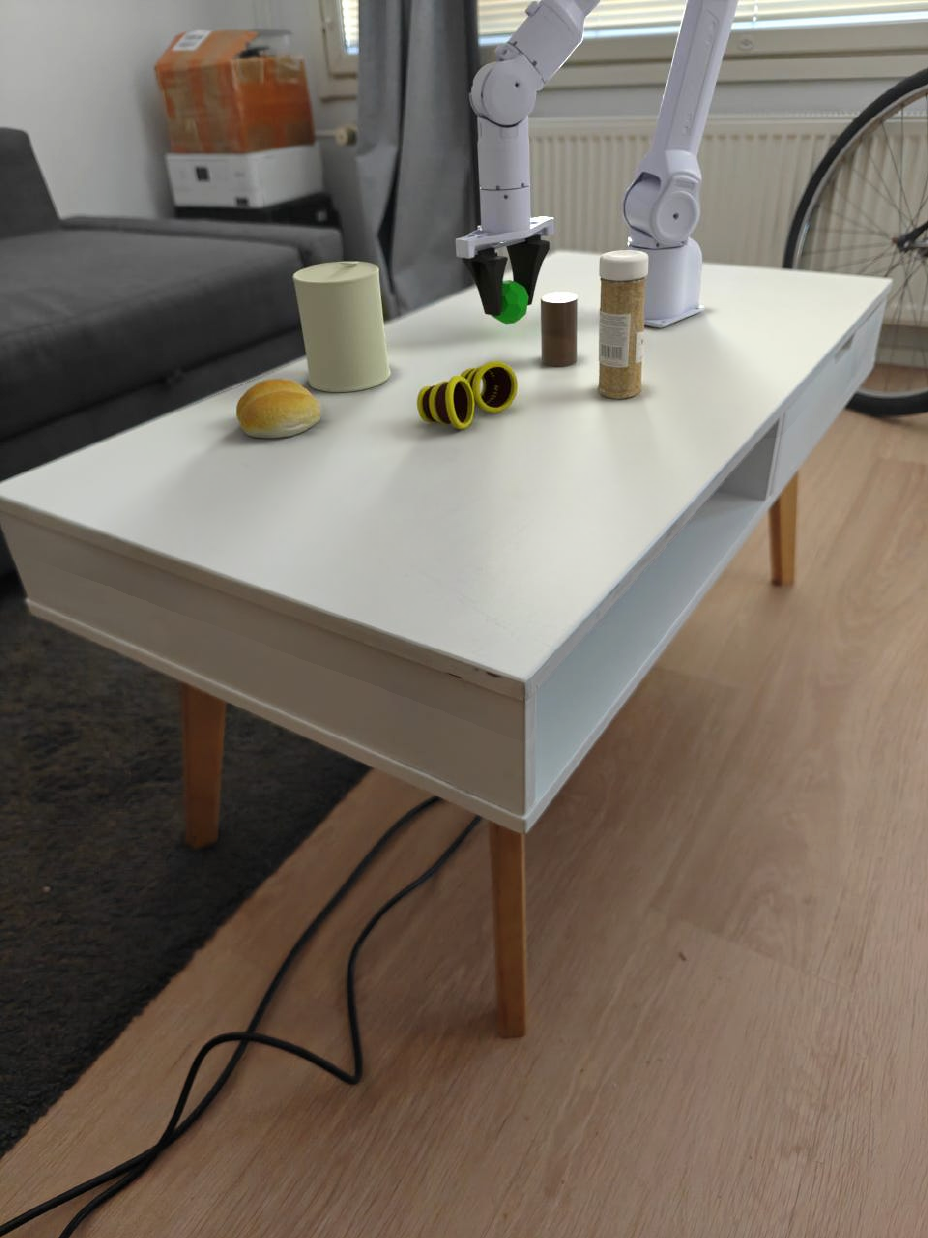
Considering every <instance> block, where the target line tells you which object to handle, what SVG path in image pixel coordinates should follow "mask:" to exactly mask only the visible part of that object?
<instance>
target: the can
mask: <svg viewBox="0 0 928 1238" xmlns="http://www.w3.org/2000/svg"><path fill="white" fill-rule="evenodd" d="M292 281H293V285H294V289H295V290H294V291H295V296H296V301H297V302H296V303H297V306H298V313H299V318H300V319H299V320H300V325H301V332H302V339H303V343H304V344H303V345H304V349H305V350H304V351H305V356H306V364H307V369H308V383H309V386H311V388H314V389H316V390H319V391H323V392H328V393H349V392H350V393H351V392H357V391H364V390H368V389H371V388H374V387H376V386H379V385H381V384H383V383H385V382H386V381H388V380H389V378H390V377H391V375H392V374H391V373H392V372H391V369H390V366H389V359H388V353H387V350H388V349H387V344H386V343H387V341H386V334H385V324H384V316H383V315H384V314H383V306H382V299H381V298H382V297H381V285H380V275H379V267H378V266H377V265H376V264H374V263H370V262H366V261H336V262H335V261H333V262H325V263H320V264H315V265H310V266H307V267H303V268H302V269H299V270H296V272H294V273H293V274H292Z"/></svg>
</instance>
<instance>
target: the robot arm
mask: <svg viewBox="0 0 928 1238" xmlns="http://www.w3.org/2000/svg"><path fill="white" fill-rule="evenodd" d="M601 2H602V0H540V1H537V0H533V1H531V2H530V3H529V4H528V6H527V7H526V8H525V9H524V13H525V14H526V15H527V17H526V18H525V19H524V21H523V22H522V23H521V24H520V25H519V27H518V28H517V29H516V30H515V32H514V33H513V34H512V35H511V37H510V38H509V39H508V40H507V42H506V43H499V44H497V46H496V48H495V49H494V50H493V53H494V54H495V56H496V58H497V61H492V62H489V63H486V64H485V65H483V66H482V67H481V68H480V69H478V71H477V73H476V74H475V76H474V77H473V80H472V86H471V89H470V92H469V93H468V99H469V104H470V107H471V108H472V111H473V112H474V113H475V115H476V116H477V118H476V120H477V135H478V136H477V162H478V163H477V164H478V181H479V182H478V183H479V203H480V220H481V221H480V225H477V228H476V230H474V231H472V232H470V233H468V234H466V235H463V236H461V237H458V238H455V253H456V257H457V258H461V259H462V263H463V264H464V265H465V267H466V268H467V270H468V272H469V273H470V275H471V277H472V279H473V281H474V284H475V286H476V289H477V292H478V294H479V299H480V301H481V304H482V308H483V312H484V314H485V315H488V316H491V315H492V316H499V315H501V309H502V284H503V281H504V276H505V271H506V268H507V263H508V260H509V262H510V266H511V271H512V279H513V280H512V281H514V282H516V283H518V284H520V285H521V286H523V287H524V288H525V290H526V292H527V295H528V297H529V298H528V304H527V306H531V305H533V304H532V303H533V300H534V296H535V291H536V286H537V282H538V278H539V274H540V272H541V270H542V269H541V268H542V267H543V264H544V262H545V259H546V257H547V256H548V253H549V252H550V250H551V241H550V240H547V239H542V237H550V236H553V235H554V233H555V231H554V230H555V225H554V220H555V219H554V217H551V216H543V215H542V216H538V217H532V215H531V213H532V212H531V170H530V168H531V167H530V166H531V165H530V163H531V162H530V139H529V115H530V114H532V112H533V110H534V108H535V105H536V101H537V94H538V93H537V91H541V90H543V88H544V87H545V86H546V85H547V83H548V82H549V81H550V80H551V79H552V77H554V75H555V74H556V73H557V72H558V70H559V69H560V68H561V67H562V66H563V64H565V62H566V61H567V60H568V58H569V57H570V56H571V55H572V54H573V53H574V52H575V50H576V49H577V48H578V47H579V45H580V44H581V43H582V42H583V40H584V39H583V37H584V27H585V20H586V18H587V17H588V16H589V15H590V14H591V13H592V12H593V10H594V9H596V7H597V6H598V5H599V4H600V3H601ZM738 4H739V0H686V2H685V7H684V11H683V13H682V19H681V23H680V26H679V31H678V34H677V38H676V44H675V46H674V47H675V48H674V51H673V56H672V60H671V64H670V68H669V73H668V76H667V79H666V85H665V89H664V93H663V97H662V101H661V104H660V109H659V113H658V117H657V121H656V124H655V125H656V126H655V130H654V133H653V137H652V142H651V146H650V148H649V149H648V151H647V153H645V155H644V156H643V157H642V159H641V160H640V162H639V163H638V166H637V170H636V174H635V177H634V179H633V180H632V182H631V183H630V185H629V186H628V187H627V189H626V191H625V192H624V195H623V197H622V201H621V214H622V218H623V220H624V222H625V224H626V225H627V226H628V227H629V228H630V230H629V234H628V237H627V250H634V251H641V252H644V253H646V254H647V255H648V274H647V275H646V281H645V297H644V326H645V325H646V326H648V327H649V326H650V327H656V328H665V327H668V326H669V325H672V324H674V323H676V322H680V321H682V320H684V319H686V318H689V317H692V316H693V315H696V314H698V313H700V312H703V311H705V306H704V305H700V294H701V282H702V269H703V253H702V250H701V248H700V245H699V244H698V242H697V241H696V240H695V239H694V238H692V237H691V235H692V234H693V233H694V231H695V229H696V227H697V225H698V223H699V220H700V217H701V205H700V199H699V198H700V189H701V184H702V181H703V178H702V177H703V176H702V173H701V169H700V166H699V162H698V158H697V157H698V153H699V148H700V146H701V141H702V138H703V135H704V130H705V127H706V122H707V120H708V115H709V111H710V108H711V104H712V101H713V97H714V93H715V90H716V85H717V82H718V78H719V74H720V71H721V67H722V63H723V60H724V56H725V51H726V49H727V44H728V41H729V37H730V33H731V30H732V25H733V22H734V18H735V15H736V12H737V7H738ZM504 247H506V251H507V254H508V256H502V255H498V252H496V250H498V249H501V248H504ZM492 316H491V317H492Z"/></svg>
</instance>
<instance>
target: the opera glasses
mask: <svg viewBox="0 0 928 1238" xmlns="http://www.w3.org/2000/svg"><path fill="white" fill-rule="evenodd" d="M481 381H482V389H480V387H481V385H480V384H481ZM518 383H519V382H518V379H517V376H516V373H515V372H514V370H513V369H512V367H511V366H509V365H508V364H507V363H505V362H503V361H499V360H493V361H492V360H491V361H488V362H486V363H484V364H483V365H479V366H477V367H469V368H466V369H465V370H463V371H462V373H461V374H460V375H454V376H452V377H451V378H450V379H449V380H448V381H446V380H445V381H441V382H438V383H436V384H433V385H425V386H423V387H422V388H420V390H419V392H418V394H417V396H416V397H417V398H416V409H417V412H418V414H419V417H420V418H421V419H422V420H423V421H424V422H426V423H438V424H440V425H445V426H449V425H453V427H454V428H455V429H457V430H465V429H467V428H468V427H469V426H470V425H471V423H472V421H473V418H474V413H475V406H477V407H479V408H480V409H481V410H482V411H484V412H486V413H490V414H498V413H502V412H504V411H505V410H507V409H508V408H509V407H510V406H512V404H513V402H514V401H515V399H516V396H517V393H518V385H519V384H518ZM480 390H481V391H480Z"/></svg>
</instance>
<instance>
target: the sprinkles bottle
mask: <svg viewBox="0 0 928 1238" xmlns="http://www.w3.org/2000/svg"><path fill="white" fill-rule="evenodd" d="M598 268H599V269H598V273H599V277H600V279H599V280H600V301H599V302H600V305H599V306H600V307H599V320H598V321H599V322H598V323H599V324H598V325H599V326H598V327H599V329H598V362H599V366H598V367H599V369H598V373H599V374H598V375H599V376H598V385H597V392H598V393H599V394H600V395H601V396H603V397H606V398H609V399H622V400H623V399H628V398H633V397H635V396H638V395H640V393H641V392H642V390H643V385H642V373H643V372H642V369H643V367H642V365H643V359H644V335H645V325H644V297H645V281H646V275H647V274H648V255H647V254H646V253H644V252H641V251H634V250H628V249H624V250H622V249H620V250H614V251H613V250H612V251H609V252H605V253H603V254H602V255H601V256H600V257H599V267H598Z"/></svg>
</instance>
